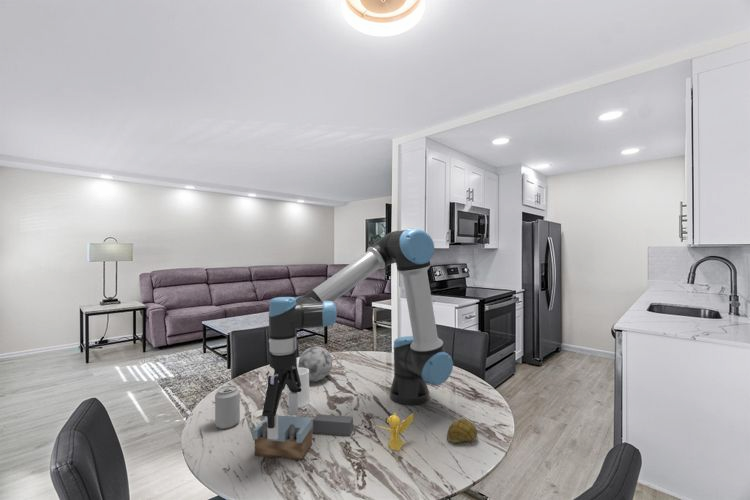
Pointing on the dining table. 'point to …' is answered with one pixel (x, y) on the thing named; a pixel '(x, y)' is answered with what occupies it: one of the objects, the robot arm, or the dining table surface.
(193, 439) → the dining table surface
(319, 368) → the stone
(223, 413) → the can
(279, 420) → the door
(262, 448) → the carcass
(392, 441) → the figurine
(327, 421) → the gray rectangular block
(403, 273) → the robot arm
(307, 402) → the mug
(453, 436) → the seashell
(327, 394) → the dining table surface
